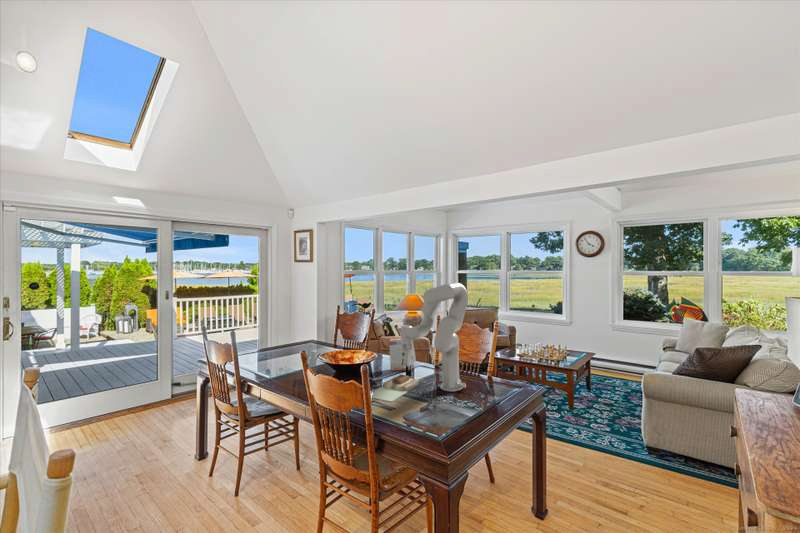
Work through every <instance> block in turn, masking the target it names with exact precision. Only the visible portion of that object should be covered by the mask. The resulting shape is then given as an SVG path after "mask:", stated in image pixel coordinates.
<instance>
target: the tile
mask: <svg viewBox="0 0 800 533" xmlns="http://www.w3.org/2000/svg"><path fill="white" fill-rule="evenodd" d="M394 377H395V378H394ZM394 377H392V378H393V379H392V378H391V379H392V383H395V384H403V383H405V382H407V381H408V380H409V378H410V377H409V376H406V374H399V375H397V377H396V376H394Z"/></svg>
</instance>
